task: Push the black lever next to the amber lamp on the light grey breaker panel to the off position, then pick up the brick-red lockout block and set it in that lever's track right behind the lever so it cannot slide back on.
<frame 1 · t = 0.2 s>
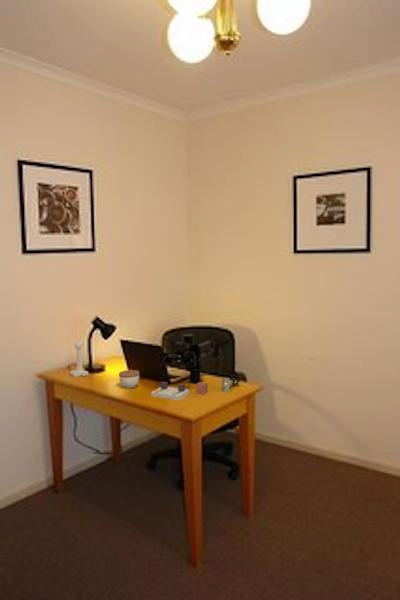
hand: (170, 363, 230), 16 cm above the table, tool horizontal, fingers open, 9 cm apart
lidded jar: (129, 387, 248), on the table
lever tagged: (164, 385, 237), point 4 cm above the table, slide at 0.0 cm
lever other: (181, 387, 232), point 4 cm above the table, slide at 0.0 cm
joystick: (78, 375, 272), on the table
lockout block: (201, 393, 235), on the table
valve: (229, 389, 241), on the table
breaker panel: (170, 394, 233), on the table
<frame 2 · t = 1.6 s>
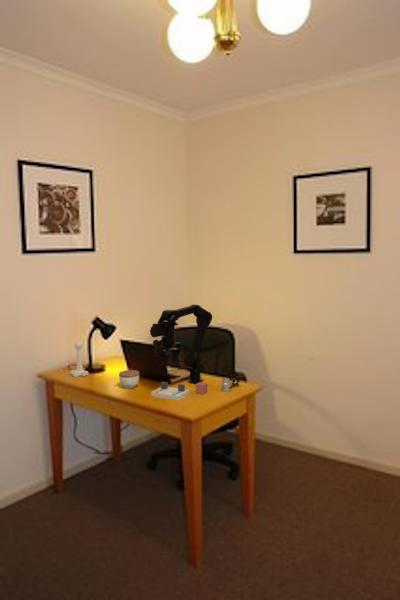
hand: (169, 364, 241), 13 cm above the table, tool pointing down, fingers open, 8 cm apart
nothing on the table moved.
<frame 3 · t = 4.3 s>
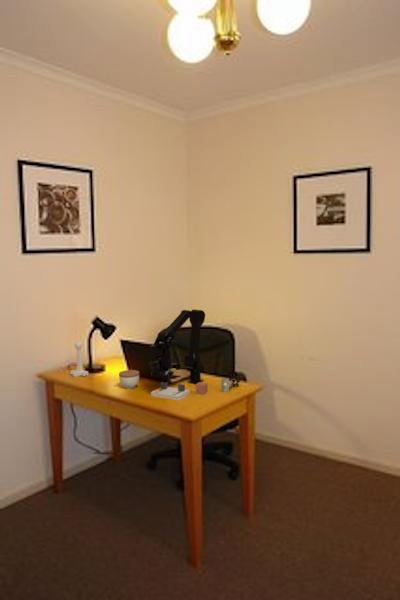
hand: (166, 386, 239), 3 cm above the table, tool pointing down, fingers closed
lever tagged: (163, 385, 237), point 4 cm above the table, slide at 0.4 cm, touching gripper
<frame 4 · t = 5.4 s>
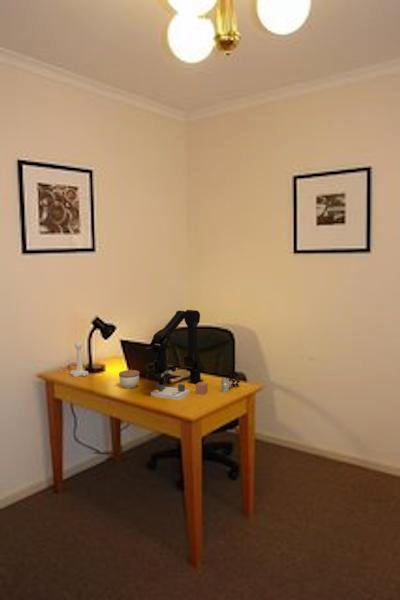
hand: (162, 388, 235), 3 cm above the table, tool pointing down, fingers closed
lever tagged: (159, 387, 233), point 4 cm above the table, slide at 4.4 cm, touching gripper
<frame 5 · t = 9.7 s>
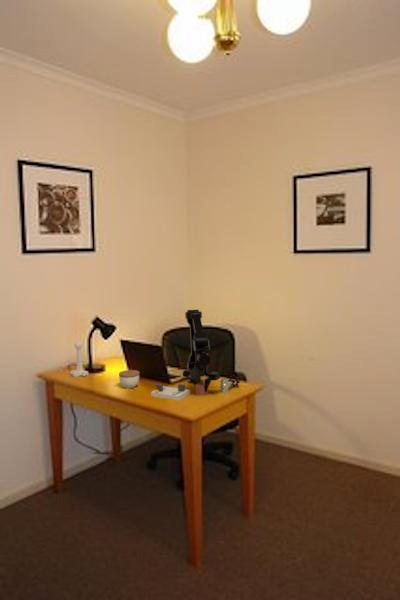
hand: (201, 391, 235), 1 cm above the table, tool pointing down, fingers closed on lockout block, 4 cm apart
lever tagged: (159, 387, 233), point 4 cm above the table, slide at 4.4 cm
lockout block: (201, 393, 235), on the table, touching gripper
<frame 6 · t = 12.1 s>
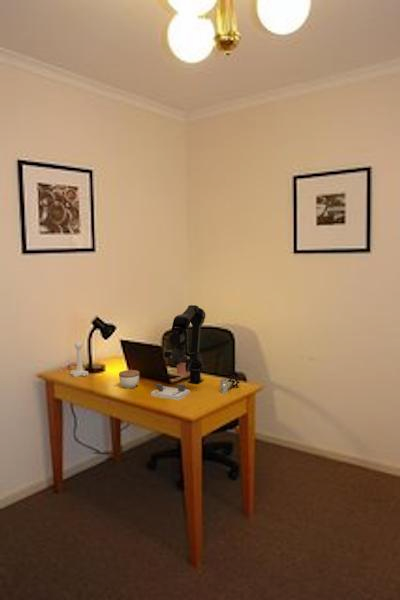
hand: (182, 371, 235), 11 cm above the table, tool pointing down, fingers closed on lockout block, 4 cm apart
lockout block: (183, 373, 235), point 10 cm above the table, touching gripper
when the fingers open (4 cm above the table, at t = 14.3 s): lockout block drops 1 cm, resting on breaker panel.
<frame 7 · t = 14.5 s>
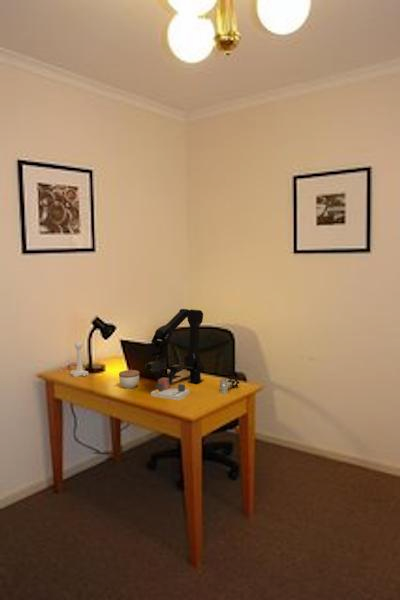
hand: (164, 383, 237), 4 cm above the table, tool pointing down, fingers open, 7 cm apart
lockout block: (164, 388, 237), point 2 cm above the table, touching breaker panel
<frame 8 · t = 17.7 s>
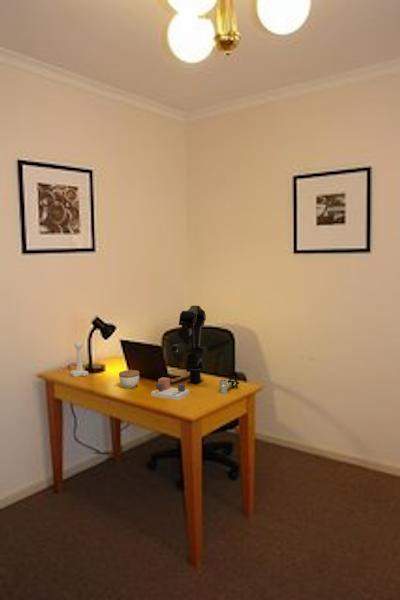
hand: (189, 365, 239), 13 cm above the table, tool pointing down, fingers open, 9 cm apart
at the end: lever tagged slide at 4.4 cm; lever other slide at 0.0 cm; lockout block 0.1 cm from the target spot on the breaker panel, point 2.1 cm above the breaker panel's base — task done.
